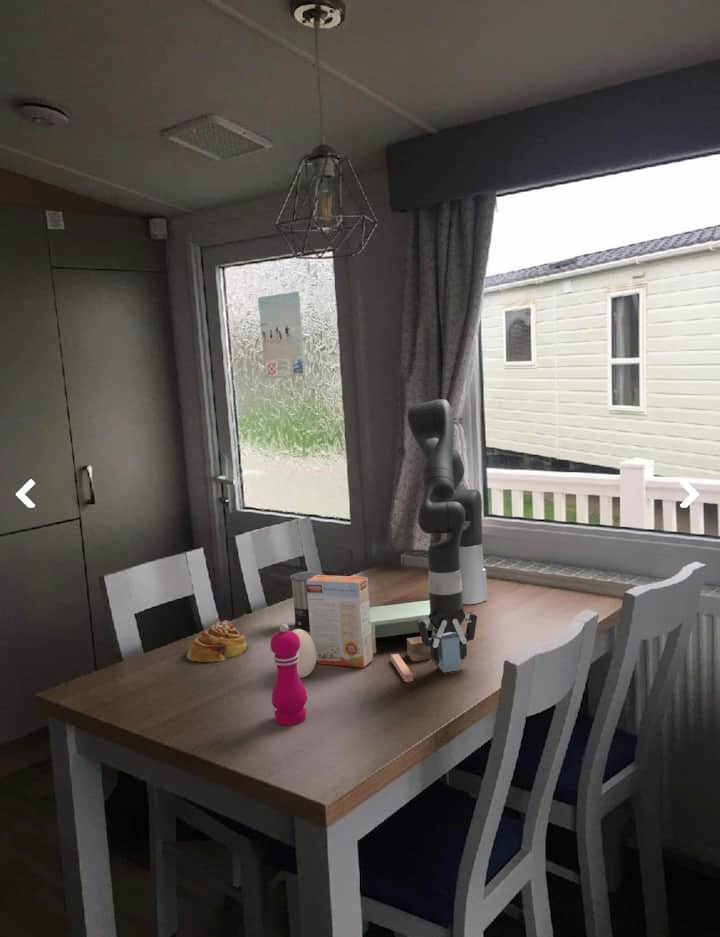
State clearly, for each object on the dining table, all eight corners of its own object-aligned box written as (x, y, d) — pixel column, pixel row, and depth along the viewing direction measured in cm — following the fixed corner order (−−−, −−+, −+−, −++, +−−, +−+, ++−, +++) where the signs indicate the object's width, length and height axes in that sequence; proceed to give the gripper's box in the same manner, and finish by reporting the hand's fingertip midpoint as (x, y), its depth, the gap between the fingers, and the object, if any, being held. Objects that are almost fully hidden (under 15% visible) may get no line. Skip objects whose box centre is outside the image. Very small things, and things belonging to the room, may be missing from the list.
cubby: (442, 627, 214) (441, 598, 213) (456, 641, 203) (455, 611, 202) (362, 638, 210) (360, 608, 209) (372, 653, 198) (370, 622, 197)
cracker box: (374, 660, 193) (368, 575, 191) (363, 669, 188) (358, 582, 186) (323, 654, 199) (317, 573, 197) (311, 663, 194) (305, 579, 192)
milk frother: (288, 630, 220) (284, 578, 218) (313, 613, 235) (309, 564, 233) (335, 634, 215) (331, 580, 213) (358, 616, 229) (354, 566, 227)
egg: (276, 680, 185) (273, 632, 183) (298, 668, 191) (294, 622, 190) (303, 685, 180) (300, 637, 179) (325, 673, 187) (321, 626, 185)
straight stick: (398, 661, 192) (398, 653, 192) (413, 683, 179) (412, 674, 178) (391, 662, 192) (390, 654, 192) (405, 684, 178) (404, 675, 178)
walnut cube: (425, 653, 196) (424, 635, 195) (430, 659, 192) (429, 641, 191) (407, 656, 195) (406, 638, 195) (412, 662, 191) (411, 644, 190)
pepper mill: (273, 713, 167) (266, 620, 164) (308, 709, 167) (301, 617, 165) (272, 728, 160) (265, 631, 157) (309, 724, 160) (301, 627, 158)
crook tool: (460, 671, 183) (458, 637, 182) (430, 675, 182) (428, 641, 181) (440, 648, 198) (438, 617, 198) (412, 652, 197) (410, 621, 196)
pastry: (257, 649, 208) (254, 619, 207) (212, 667, 196) (209, 636, 195) (223, 640, 216) (221, 611, 215) (178, 657, 205) (175, 627, 204)
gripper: (469, 581, 187) (473, 650, 189) (410, 588, 184) (414, 658, 187) (481, 589, 180) (484, 661, 182) (419, 596, 177) (423, 670, 179)
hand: (449, 659), depth 184 cm, fingers open, 5 cm apart
